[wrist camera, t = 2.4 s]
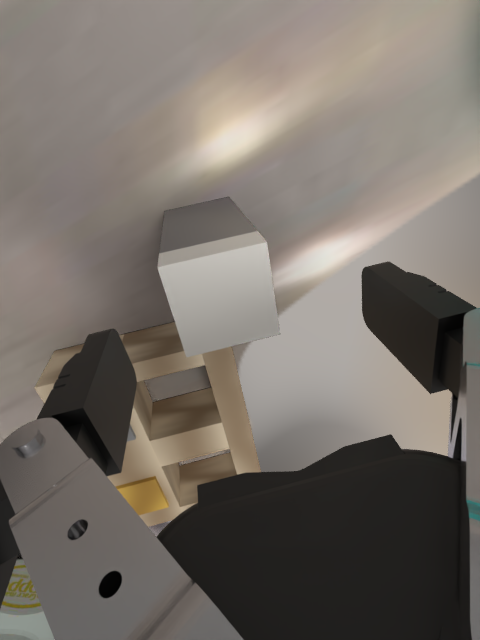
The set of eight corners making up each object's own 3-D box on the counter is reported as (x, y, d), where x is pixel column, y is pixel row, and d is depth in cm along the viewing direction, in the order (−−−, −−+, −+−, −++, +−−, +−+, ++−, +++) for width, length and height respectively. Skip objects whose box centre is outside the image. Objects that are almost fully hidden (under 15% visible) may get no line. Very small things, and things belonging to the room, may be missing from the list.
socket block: (131, 489, 32) (125, 536, 28) (54, 350, 24) (32, 391, 20) (256, 455, 33) (267, 497, 29) (222, 310, 25) (230, 342, 21)
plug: (182, 271, 23) (186, 357, 14) (164, 211, 21) (157, 267, 12) (240, 258, 23) (280, 334, 14) (228, 196, 21) (267, 241, 12)
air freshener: (-45, 590, 35) (-117, 742, 26) (-26, 543, 32) (-100, 696, 23) (67, 598, 39) (36, 732, 30) (93, 557, 36) (67, 692, 27)
